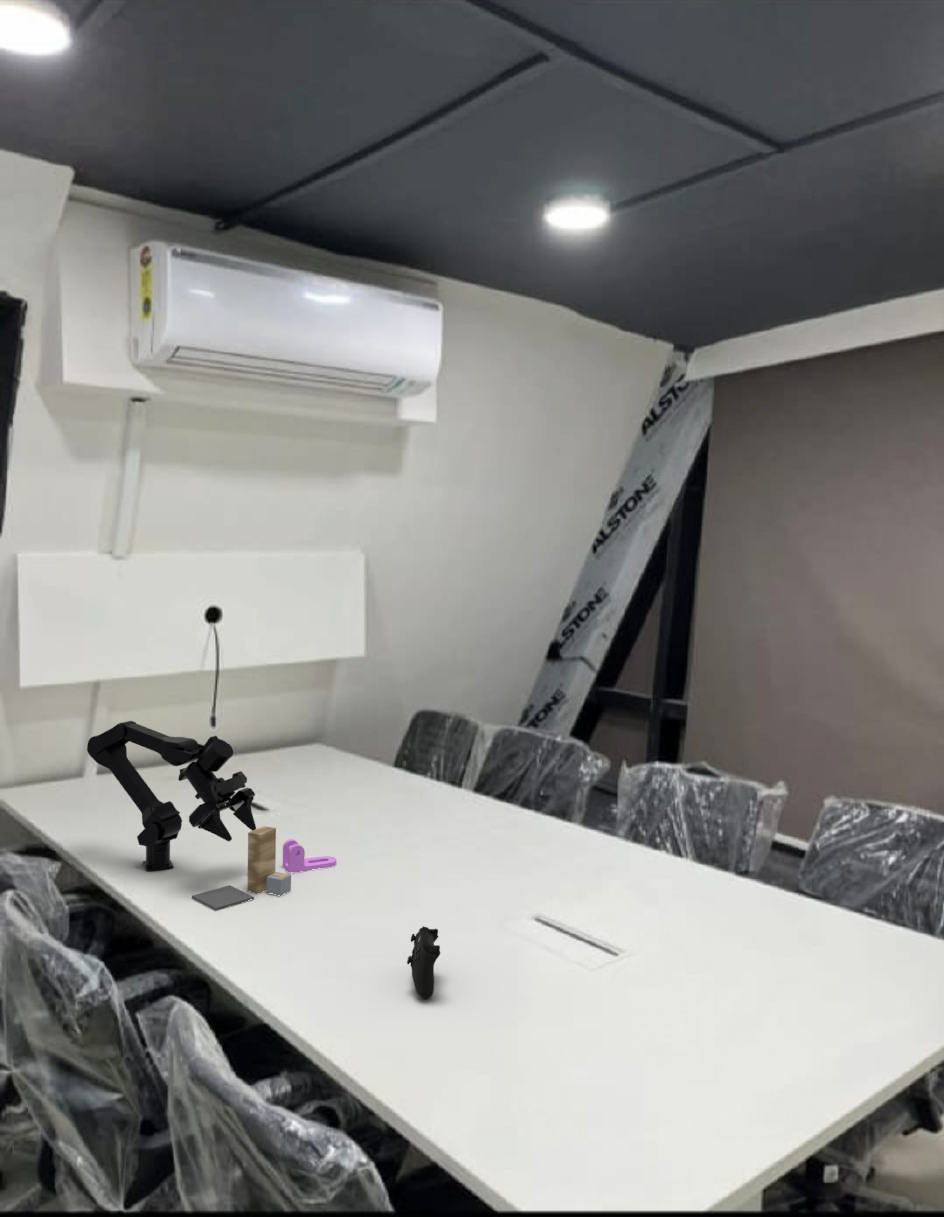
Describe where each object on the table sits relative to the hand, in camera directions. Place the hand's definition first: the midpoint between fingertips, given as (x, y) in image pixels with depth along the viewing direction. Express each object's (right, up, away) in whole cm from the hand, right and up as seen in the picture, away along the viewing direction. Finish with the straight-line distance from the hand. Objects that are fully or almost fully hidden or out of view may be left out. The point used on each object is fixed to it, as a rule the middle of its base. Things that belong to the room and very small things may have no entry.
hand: (242, 834), depth 235 cm
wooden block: (+5, -12, -1) cm, 13 cm away
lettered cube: (+9, -13, -3) cm, 16 cm away
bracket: (+14, -12, +15) cm, 23 cm away
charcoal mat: (-3, -13, -9) cm, 15 cm away
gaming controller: (+45, -18, -48) cm, 68 cm away
